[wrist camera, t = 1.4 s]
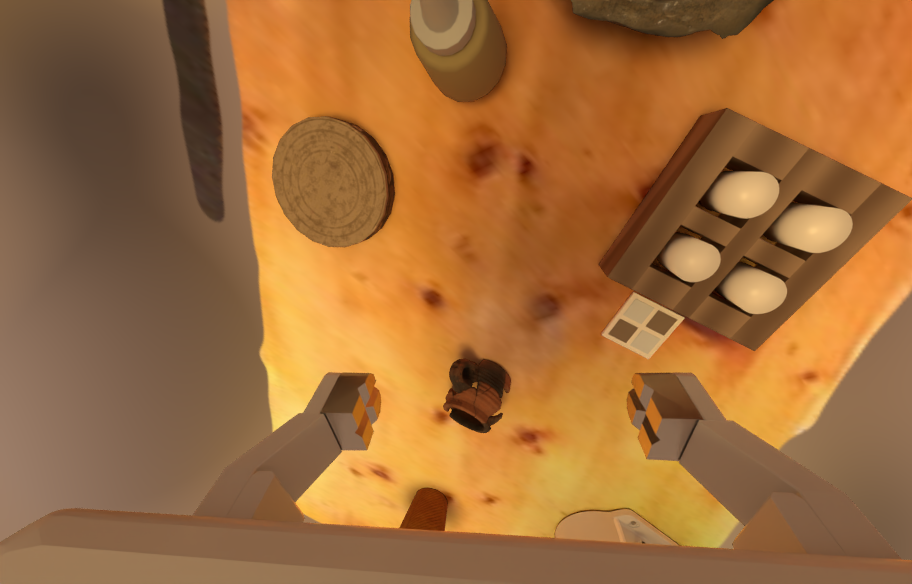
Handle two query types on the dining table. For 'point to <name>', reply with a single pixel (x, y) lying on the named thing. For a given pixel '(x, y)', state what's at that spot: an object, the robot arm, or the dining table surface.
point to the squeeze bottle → (459, 45)
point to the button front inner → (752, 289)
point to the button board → (744, 223)
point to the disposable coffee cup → (426, 511)
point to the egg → (689, 258)
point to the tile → (642, 325)
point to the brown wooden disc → (332, 181)
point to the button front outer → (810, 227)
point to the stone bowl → (674, 15)
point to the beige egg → (741, 193)
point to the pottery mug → (476, 393)
